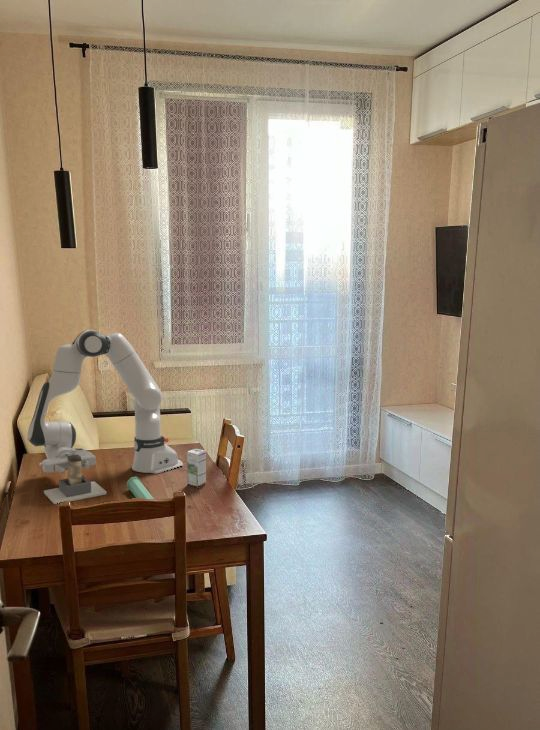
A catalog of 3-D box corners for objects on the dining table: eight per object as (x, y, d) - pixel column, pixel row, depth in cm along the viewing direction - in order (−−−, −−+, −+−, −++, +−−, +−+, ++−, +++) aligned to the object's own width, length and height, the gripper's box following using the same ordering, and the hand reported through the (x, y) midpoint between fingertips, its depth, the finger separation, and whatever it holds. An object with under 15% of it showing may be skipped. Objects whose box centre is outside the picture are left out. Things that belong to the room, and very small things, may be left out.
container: (155, 496, 219) (137, 473, 240) (140, 504, 216) (124, 481, 238) (161, 509, 221) (143, 486, 242) (147, 517, 218) (129, 493, 240)
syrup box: (206, 484, 249) (206, 450, 247) (197, 488, 244) (197, 453, 242) (195, 481, 252) (195, 447, 250) (186, 485, 247) (186, 451, 245)
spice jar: (78, 488, 237) (77, 454, 235) (82, 491, 234) (81, 457, 232) (68, 490, 235) (67, 456, 233) (71, 493, 232) (70, 458, 230)
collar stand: (94, 483, 246) (93, 471, 245) (106, 494, 235) (106, 481, 234) (43, 492, 235) (43, 480, 234) (54, 504, 223) (53, 491, 223)
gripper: (37, 455, 237) (47, 465, 226) (88, 447, 249) (100, 456, 238) (38, 470, 238) (47, 481, 227) (89, 462, 250) (100, 471, 239)
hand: (75, 468), depth 233 cm, fingers open, 8 cm apart
